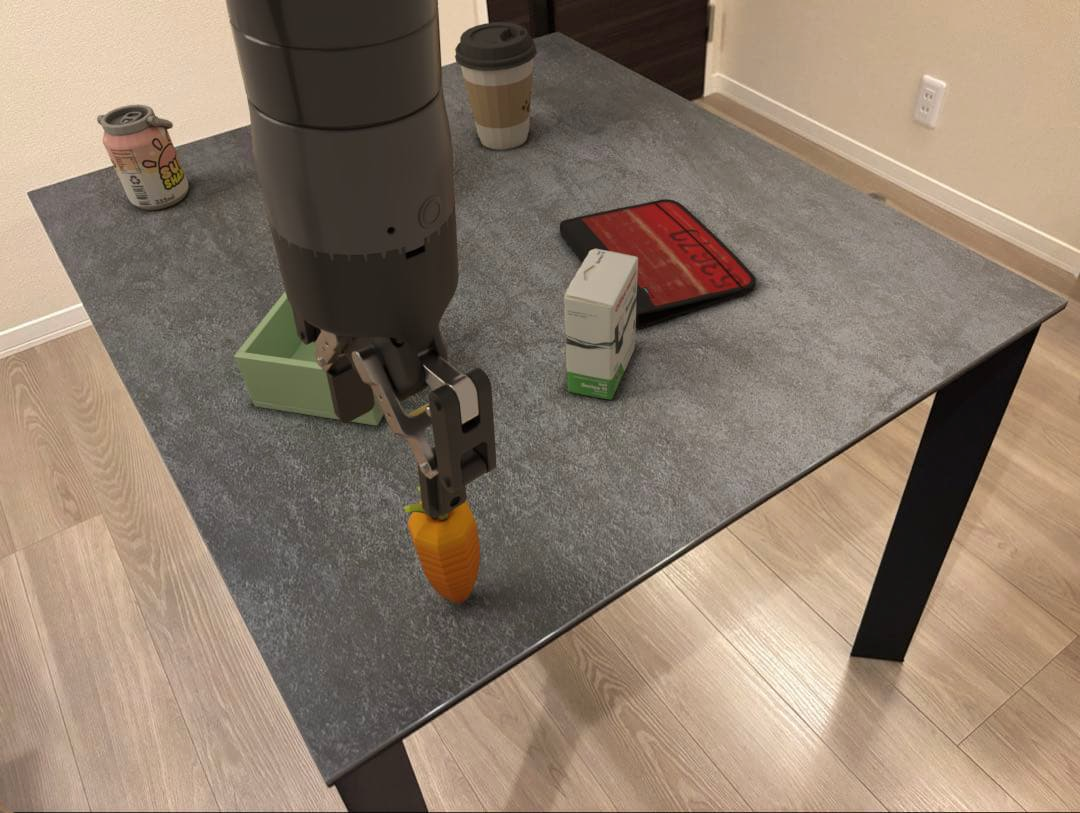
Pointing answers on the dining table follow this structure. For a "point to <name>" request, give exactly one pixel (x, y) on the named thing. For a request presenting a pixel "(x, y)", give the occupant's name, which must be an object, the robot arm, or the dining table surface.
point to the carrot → (447, 549)
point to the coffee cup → (498, 81)
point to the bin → (288, 369)
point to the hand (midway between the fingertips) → (398, 458)
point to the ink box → (600, 322)
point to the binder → (663, 257)
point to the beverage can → (144, 156)
